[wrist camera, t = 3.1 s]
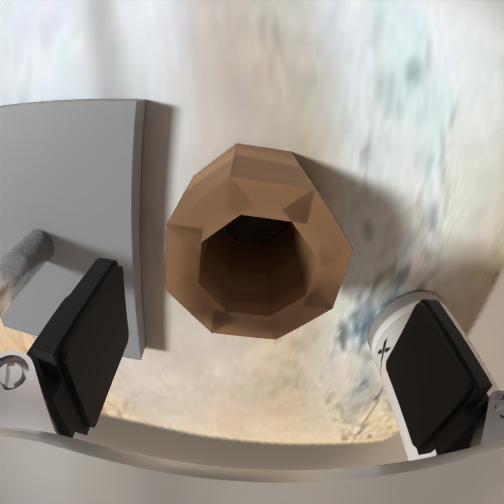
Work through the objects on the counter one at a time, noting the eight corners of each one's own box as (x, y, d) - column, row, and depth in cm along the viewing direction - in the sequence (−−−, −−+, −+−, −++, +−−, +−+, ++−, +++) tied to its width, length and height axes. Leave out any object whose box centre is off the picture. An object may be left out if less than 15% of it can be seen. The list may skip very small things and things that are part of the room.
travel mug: (346, 331, 21) (417, 630, 3) (424, 272, 19) (570, 561, 1) (386, 368, 23) (453, 599, 6) (453, 320, 21) (560, 544, 4)
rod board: (-22, 109, 13) (-37, 113, 12) (146, 99, 14) (136, 101, 13) (12, 314, 20) (3, 325, 19) (145, 345, 21) (140, 360, 20)
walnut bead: (197, 138, 15) (169, 169, 10) (327, 158, 15) (368, 199, 10) (187, 254, 18) (165, 326, 13) (301, 268, 18) (319, 342, 13)
